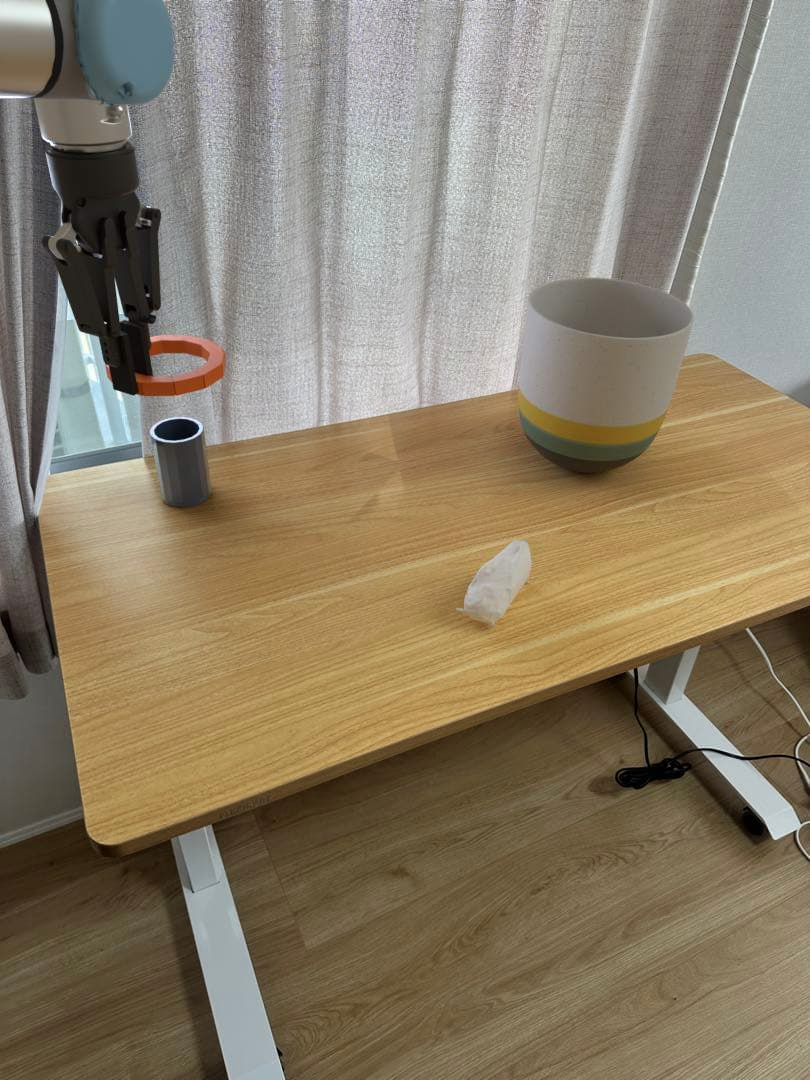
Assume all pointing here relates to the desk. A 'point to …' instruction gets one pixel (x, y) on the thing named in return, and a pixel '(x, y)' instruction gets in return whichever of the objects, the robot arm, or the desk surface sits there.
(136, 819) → the desk surface
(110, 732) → the desk surface
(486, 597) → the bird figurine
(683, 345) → the planter
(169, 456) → the cup
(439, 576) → the desk surface
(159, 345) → the ring
